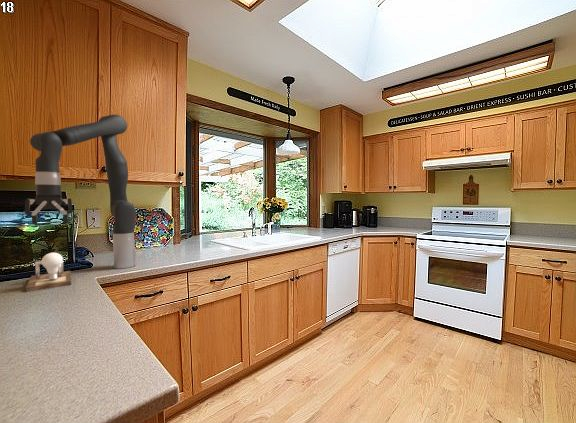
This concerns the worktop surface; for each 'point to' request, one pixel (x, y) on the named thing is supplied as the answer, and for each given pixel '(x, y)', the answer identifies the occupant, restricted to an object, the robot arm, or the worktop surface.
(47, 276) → the walnut board
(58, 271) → the silver arch frame
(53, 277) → the lightbulb
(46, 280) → the cork pad
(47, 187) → the robot arm
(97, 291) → the worktop surface
